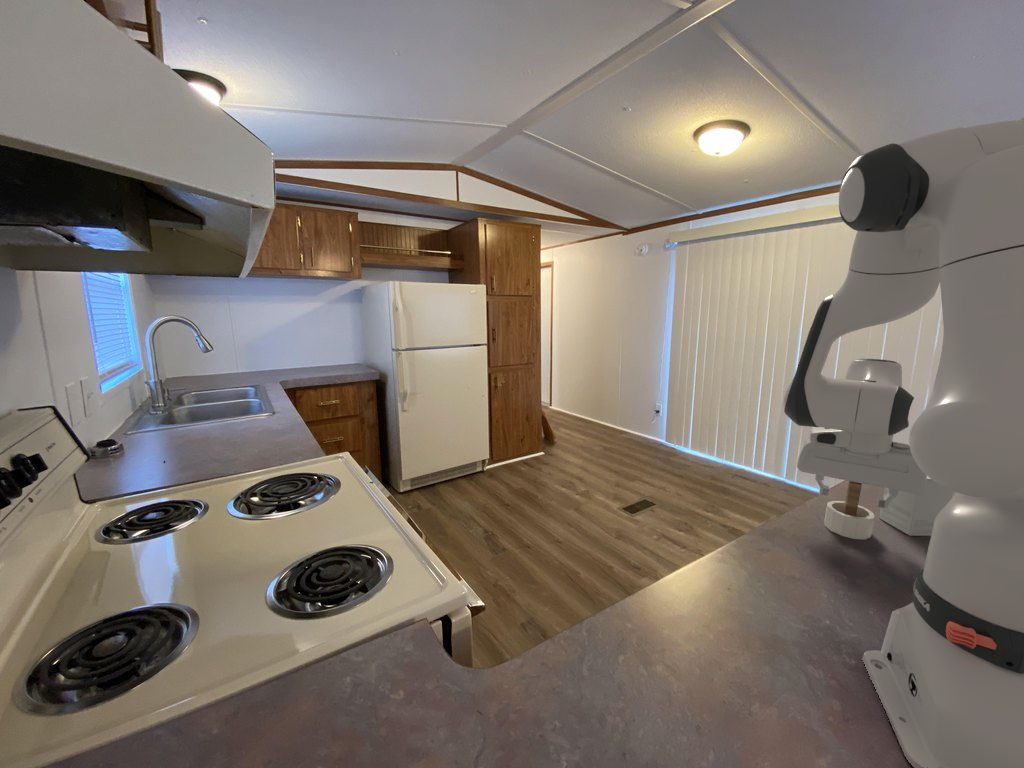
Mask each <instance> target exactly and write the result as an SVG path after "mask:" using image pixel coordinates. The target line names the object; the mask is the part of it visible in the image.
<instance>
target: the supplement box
mask: <svg viewBox="0 0 1024 768" xmlns="http://www.w3.org/2000/svg"><path fill="white" fill-rule="evenodd" d="M953 493H954V491H952V490H949V489H947V488H945V487H943V486H941V485H939V484H938V483H936V482H935V481H933V480H932V479H931V478H929V477H928V476H927V483H926V490H925V491H924V492H922V493H920V494H914V493H909V492H903V491H899V492H898V496H897V497H895V498H894V499H893V500H891V501H890V502H889V503H888V508H887V509H884V508H880V512H879V513H880V514H879V519H880V520H882V521H884V522H886V523H887V524H888V525H890V526H893V527H894V528H895V529H897V530H899V531H900V532H902V533H904V534H906V535H908V536H912V537H913V536H914V537H915V536H916V537H917V536H919V537H921V536H922V537H931V534H932V530H933V525H934V521H935V518H936V517H937V515H938V513H939V512H940V511H941V510H942V509H943V508H944V507H945V506H946V505H947V504H948V502H949V501H950V500H951V499H952V497H953ZM886 494H888V490H887V488H884V490H883V496H882V497H884V496H885V495H886Z"/></svg>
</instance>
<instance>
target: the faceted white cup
mask: <svg viewBox="0 0 1024 768" xmlns="http://www.w3.org/2000/svg"><path fill="white" fill-rule="evenodd" d="M844 507H845V501H844V500H831V501H828V502H827V504H826V509H825V516H824V520H823V523H824V524H823V525H824V527H826V528H827V529H828V530H829V531H831V532H832V533H834V534H837V535H839V536H841V537H845V538H850V539H852V540H867V539H870V538H871V537H872V532H873V528H874V522H875V514H874V512H872V511H871V510H870V509H868V508H867V507H865V506H862V505H859V504H858V508H857V513H856V517H855V516H850V515H846V514H844V513H843V512H844Z"/></svg>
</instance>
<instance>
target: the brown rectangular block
mask: <svg viewBox="0 0 1024 768" xmlns="http://www.w3.org/2000/svg"><path fill="white" fill-rule="evenodd" d="M847 485H848V486H847V490H846V496H845V501H844V502H845V507H844V512H843V513H844V514H846V515H850V516H855V517H856V513H857V508H858V505H859V502H860V497H861V496H860V495H861V491H862V486H863V485H862V483H857V482H852V481H848V484H847Z"/></svg>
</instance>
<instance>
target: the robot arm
mask: <svg viewBox="0 0 1024 768" xmlns="http://www.w3.org/2000/svg"><path fill="white" fill-rule="evenodd" d="M838 211H839V214H840V217H841V220H842V222H843V223H844V224H846V226H848V227H849V228H850V229H852V230H854V231H856V234H855V237H854V241H853V245H852V249H851V254H850V258H849V265H848V266H849V267H848V271H847V275H846V278H845V280H844V282H843V283H842V285H841V286H840V288H839V289H838V290H837V291H836V292H835V293H833V294H831V295H829V296H826V297H825V298H824V299H823V300H822V301H821V303H820V304H819V306H818V308H817V310H816V312H815V315H814V317H813V321H812V323H811V326H810V328H809V330H808V333H807V337H806V340H805V343H804V346H803V348H802V353H801V355H800V359H799V360H798V361H799V362H798V364H797V368H796V370H795V374H794V377H793V379H792V380H791V382H790V383H789V385H788V387H787V388H786V391H785V394H784V396H783V397H784V398H783V409H784V411H783V412H784V414H785V415H786V416H787V417H788V418H789V419H790V420H791V421H792V422H793V423H794V424H796V425H797V426H799V427H809V431H808V437H807V438H806V439H804V441H803V442H802V444H801V447H800V450H799V453H798V458H797V462H796V467H797V469H798V471H800V473H806V474H812V475H815V481H816V482H817V484H818V486H819V490H818V491H819V493H818V494H819V495H821V496H826V497H828V496H829V492H830V487H829V485H825V484H824V482H823V481H824V479H825V477H827V478H832V479H835V480H836V479H838V480H843V481H847V482H849V481H852V482H857V483H861V484H863V485H867V486H874V487H879V488H884V489H885V488H887V490H888V494H886V495H885V496H884V497H883V496H877V501H876V507H877V508H880V509H881V508H884V509H887V508H888V503H889V502H890V501H891V500H893V499H894V498H895V497H897V496H898V492H899V491H903V492H909V493H914V494H920V493H922V492H924V491H925V490H926V483H927V476H928V477H929V478H931V479H932V480H933V481H935V482H936V483H938V484H939V485H941V486H943V487H945V488H947V489H949V490H952V491H953V493H954V495H952V498H951V500H950V501H949V502H948V504H947V505H946V506H945V507H944V508H943V509H942V510H941V511H940V512H939V513H938V515H937V517H936V518H935V521H934V525H933V530H932V534H931V536H930V540H929V544H928V548H927V553H926V556H925V557H926V558H925V562H924V566H923V569H921V570H919V572H918V573H917V576H916V579H915V580H914V582H913V586H912V590H913V591H912V596H911V600H912V601H911V602H910V603H908V604H907V605H905V606H903V607H900V608H896V609H895V610H892V612H891V615H890V618H889V622H888V626H887V628H886V632H885V635H884V639H883V641H882V646H881V649H880V650H866V651H864V653H863V654H862V655H863V656H861V657H862V658H861V661H862V660H863V661H862V663H863V662H864V663H863V665H864V664H865V666H864V668H865V667H866V668H865V670H866V669H867V670H866V672H867V671H868V673H867V675H868V674H869V675H868V677H869V676H870V677H869V679H870V681H871V680H872V682H871V683H873V684H874V686H873V688H874V687H875V689H876V691H875V693H876V692H877V693H878V695H879V698H880V699H881V702H882V703H883V706H884V708H885V710H886V712H887V713H888V715H889V717H890V719H891V721H892V723H893V724H894V727H895V729H896V731H897V734H898V736H899V738H900V741H901V743H902V745H903V748H904V750H905V752H906V753H907V755H908V756H909V758H911V759H912V760H913V761H915V762H916V763H917V764H919V765H920V766H921V767H924V768H927V767H928V768H1024V117H1022V118H1019V119H1016V120H1015V119H1014V120H1007V121H998V122H990V123H985V124H978V125H973V126H969V127H955V128H950V129H945V130H942V131H938V132H935V133H931V134H926V135H923V136H919V137H917V138H913V139H910V140H907V141H904V142H901V143H888V144H885V145H883V146H880V147H878V148H875V149H873V150H870V151H868V152H865V153H864V154H862V155H860V156H858V157H857V158H855V160H854V161H853V162H852V163H851V165H850V166H849V167H848V169H847V170H846V171H845V173H844V175H843V177H842V180H841V183H840V187H839V193H838ZM939 286H940V295H941V297H940V298H941V310H942V323H943V338H942V346H941V353H940V358H939V363H938V367H937V370H936V371H937V372H936V375H935V380H934V383H933V386H932V387H933V388H932V391H931V395H930V398H929V400H928V403H927V405H926V407H925V409H924V410H923V411H922V413H921V414H920V415H919V416H918V417H917V418H916V419H915V421H914V422H913V424H912V426H911V429H910V432H909V436H908V437H909V439H908V444H907V443H902V442H896V441H894V436H895V435H896V434H898V433H900V432H902V431H903V430H905V429H907V428H908V427H909V426H910V425H909V424H910V423H909V415H910V410H911V406H912V404H913V402H914V399H915V397H914V396H913V395H912V394H911V393H910V392H909V391H907V390H906V389H905V388H904V387H903V386H902V385H903V384H902V382H903V368H902V364H901V363H900V362H897V361H895V360H889V359H888V360H887V359H882V358H881V359H878V358H857V359H853V360H851V362H850V363H849V366H848V368H847V370H846V375H845V377H844V379H843V378H834V377H832V378H831V377H827V376H825V375H823V374H822V372H823V369H824V366H825V363H826V361H827V359H828V356H829V353H830V351H831V347H832V346H833V344H834V342H835V341H836V340H838V339H839V338H840V337H842V336H845V335H847V334H849V333H852V332H855V331H858V330H863V329H865V328H869V327H870V328H871V327H875V326H878V325H884V324H887V323H892V322H895V321H897V320H901V319H902V318H906V317H907V316H911V314H914V313H915V312H917V311H919V310H920V309H922V308H923V307H924V306H926V305H927V304H928V303H929V302H930V301H931V300H932V299H933V298H934V296H935V295H936V292H937V290H938V288H939ZM873 684H872V685H873ZM875 689H874V690H875ZM877 693H876V694H877ZM878 695H877V696H878ZM879 698H878V699H879ZM881 702H880V703H881ZM901 720H902V721H904V722H902V721H901Z"/></svg>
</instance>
